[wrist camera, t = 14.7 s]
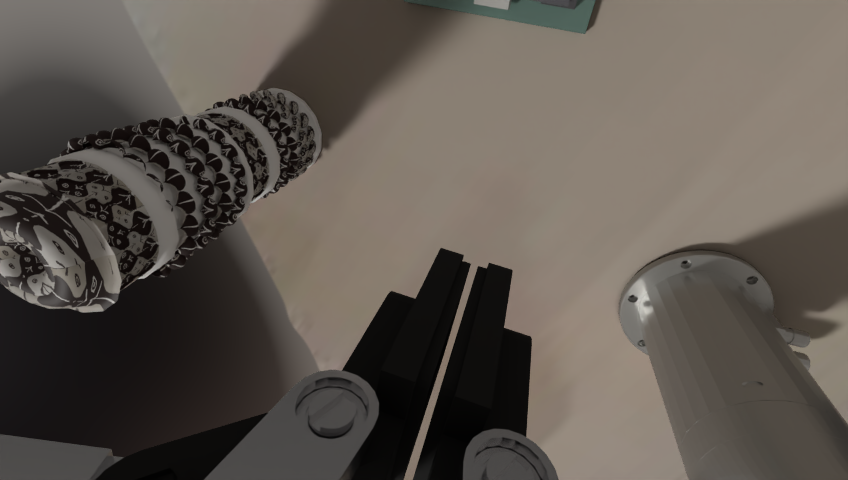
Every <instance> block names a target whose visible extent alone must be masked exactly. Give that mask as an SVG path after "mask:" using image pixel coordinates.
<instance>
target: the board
mask: <svg viewBox="0 0 848 480" xmlns="http://www.w3.org/2000/svg"><path fill="white" fill-rule="evenodd" d="M404 1H405V2H410V3H416V4H421V5H427V6H432V7H438V8H444V9H449V10H455V11H460V12H466V13H471V14H477V15H483V16H488V17H494V18H499V19H505V20H510V21H516V22H522V23H527V24H533V25H538V26H544V27H549V28H555V29H561V30H566V31H572V32H577V33H583V34H585V33H586V29H587V26H588V23H589V20H590V16H591V13H592V10H593V7H594V3H595V0H570V2H569V5H568V6H560V5H554V4H549V3H543V2H536V1H530V0H512V1H511V5H510V10H506V9H500V8H494V7H489V6H483V5H477V4H474V0H404Z"/></svg>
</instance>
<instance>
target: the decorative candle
mask: <svg viewBox="0 0 848 480" xmlns="http://www.w3.org/2000/svg"><path fill="white" fill-rule="evenodd" d="M250 97H251V98H248V96H247V95H245V94H242V95H240V97H239V98H240V99H239V102H238V101H237V100H236V99H232V98H231V99H228V100H227V101H226V102H225V103H224V102H217V103H215V104H214V105H213V109H207V110H206V111H205V112H201V113H198V114H197V115H196V116H191V115H187V114H185V115H181V116H177V117H173V118H161V119H160V120H159V122H158V121H157V120H148V121H146V122H142V123H139V124H138V125H137V127H135V126H126V127H124V128H123V129H120V128H115V129H113V130H112V131H111V132H109V131H99V132H97V134H96V135H95V134H89V135H86V136H85V137H84V138H83V139H81V138H73V139H71V140H69V142H68V149H65V150H64V151H62V152H61V155H60V157H58V158H55V159H52V160H50V162H49V163H48V164H47V165H45V166H43V167H41V168H35V169H32V170H29V171H26V172H22V173H19V174H15V173H11V172H10V173H6V174H1V175H0V282H1V283H2V284H3V285H4V286H5V287H6V288H7V289H9V290H10V291H11V292H13V293H14V294H16V295H18V296H20V297H21V298H23V299H24V300H26V301H28V302H30V303H33V304H37V305H40V306H43V307H46V308H50V309H60V308H70V309H73V310H77V311H80V312H97V311H104V310H105V309H107V308H108V307H109V306H111V305H112V304H113V303H115V302H116V301H117V300H118V295H119V291H121V290H123V289H124V288H125V287H127V286H128V285H130V284H131V283H132V282H134V281H135V280H136V279H141V278H145V277H147V276H148V275H150V274H152V275H153V276H156V277H166V276H168V275H169V274H170V272H171V269H179V268H181V267H182V266H184V265H185V263H186V259H189V258H190V257H192V255H193V251H194V250H197V251H198V250H202V249H203V248H205V247H206V245H207V241H214V240H215V239H216V238H218V236H219V233H221V232H222V231H223V229H224V228H225V227H226V226H230V225H233V224H234V223H235V222H236V220H237V218H238V217H240V216H241V215H242V214H243V213H245V212H246V211H247V210H248V208H249V205H250V203H254V202H255V201H257V200H258V199H260V198H266V197H267V196H268V195H269V193H276V192H277V191H278V190H279V188H280V187H284V186H286V185H287V183H288V182H289V181H293V180H295V179H296V178H297V177H298V176H299V175H301V174H303V173H304V172H305V171H306V170H307V169H308V168H309V167H310V166H312V165H313V164H314V163H315V162H316V160H317V158H318V156H319V154H320V152H321V147H322V132H321V129H320V126H319V123H318V120H317V117H316V115H315V114H314V113H313V111H312V110H311V109H310V107H309V106H308V105H307V103H306V102H305V101H304V100H302V99H301V98H299V97H298V96H296V95H295V94H294V93H292V92H291V91H287V90H283V89H278V88H270V89H264V90H261V91H258V92H254V91H253V92H251V93H250ZM85 148H86V149H87V150H83V149H85ZM104 148H105V149H104ZM82 150H83V151H82ZM197 236H199V237H198V238H195V237H197ZM194 238H195V239H194ZM176 250H177V251H176ZM175 257H177V258H176V259H175ZM174 259H175V260H174ZM172 260H173V261H172ZM171 261H172V262H171ZM168 262H171V263H170V264H168V265H166V263H168Z"/></svg>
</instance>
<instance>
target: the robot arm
mask: <svg viewBox="0 0 848 480" xmlns="http://www.w3.org/2000/svg"><path fill="white" fill-rule="evenodd" d="M463 256H464V255H462V254H459V253H456V252H452V251H449V250H446V249H443V248H441V249H440V250H439V252H438V255H437V257H436V259H435V261H434V263H433V265H432V267H431V269H430V271H429V273H428V275H427V277H426V279H425V281H424V283H423V285H422V287H421V289H420V291H419V293H418V295H417V297H416V299H414V298H411V297H408V296H405V295H402V294H399V293H396V292H393V291H391V292H390V293H389V294H388V295H387V297H386V298H385V300H384V302H383V303H382V305H381V307H380V308H379V310H378V312H377V313H376V315H375V317H374V318H373V320H372V322H371V323H370V325H369V327H368V328H367V330H366V332H365V333H364V335H363V337H362V338H361V340H360V342H359V343H358V345H357V347H356V348H355V350H354V352H353V353H352V355H351V356H350V358H349V360H348V361H347V363H346V365H345V366H344V368H343V370H342V371H339V370H327V371H320V372H317V373H314V374H312V375H309V376H307V377H305V378H304V379H302V380H301V381H300V382H298V383H297V384H296V385H295V386H294V387H293V388H292V389H291V390H290V391H289V392H288V393H287V394H286V395H285V396H284V397H283V398H282V399H281V400H280V401H279V402H278V403H277V404H276V405H275V407H273V408H272V410H271V411H270V412H268V413H265V414H261V415H258V416H255V417H251V418H248V419H245V420H241V421H238V422H235V423H232V424H228V425H225V426H222V427H218V428H215V429H211V430H208V431H205V432H201V433H198V434H194V435H191V436H188V437H184V438H181V439H178V440H174V441H171V442H168V443H164V444H161V445H158V446H154V447H151V448H148V449H144V450H141V451H139V452H137V453H134V454H132V455H129V456H127V457H124V458H123V457H115V456H113V455H112V451H111V449H105V448H96V447H90V446H82V445H75V444H68V443H60V442H52V441H45V440H37V439H30V438H22V437H15V436H8V435H0V480H403V479H404V476H405V473H406V470H407V467H408V464H409V461H410V458H411V455H412V452H413V449H414V445H415V442H416V439H417V436H418V433H419V430H420V427H421V424H422V421H423V418H424V415H425V411H426V408H427V405H428V402H429V399H430V396H431V393H432V390H433V387H434V384H435V381H436V377H437V374H438V371H439V368H440V365H441V362H442V359H443V356H444V352H445V349H446V346H447V342H448V339H449V336H450V332H451V329H452V325H453V322H454V319H455V315H456V312H457V309H458V305H459V302H460V299H461V295H462V292H463V289H464V285H465V282H466V278H467V275H468V272H469V268H470V265H471V264H470V263H467V262H464V261H462V260H463ZM511 278H512V270H511V269H508V268H504V267H501V266H498V265H495V264H491V263H489V264H488V267H487V269H486V268H483V267H480V266H478V268H477V272H476V275H475V278H474V281H473V284H472V288H471V291H470V294H469V297H468V301H467V304H466V307H465V310H464V314H463V317H462V320H461V323H460V327H459V330H458V333H457V336H456V339H455V343H454V346H453V349H452V352H451V356H450V359H449V362H448V366H447V369H446V372H445V375H444V379H443V382H442V385H441V389H440V392H439V395H438V399H437V402H436V405H435V408H434V412H433V415H432V418H431V422H430V425H429V428H428V432H427V435H426V438H425V441H424V445H423V448H422V451H421V455H420V458H419V461H418V465H417V468H416V471H415V475H414V478H413V480H559V479H558V476H557V473H556V470H555V468H554V466H553V464H552V463H551V461H550V460H549V458H548V456H547V455H546V454H545V453H544V452H543V451H542V450H541V449H540V448H539V447H538V446H537V445H536V444H535V443H534V442H532V441H531V440H529V439H528V438H526V430H527V414H528V397H529V380H530V363H531V346H532V339H531V337H530V336H527V335H524V334H521V333H518V332H515V331H512V330H509V329H506V328H504V323H505V317H506V310H507V304H508V297H509V291H510V284H511ZM773 311H774V297H773V294H772V291H771V288H770V286H769V284H768V283H767V282H766V280H765V279H764V277H763V276H762V275H761V274H760V273H759V272H758V271H757V270H756V269H755V268H754V267H753V266H751V265H750V264H749V263H747V262H746V261H744V260H742V259H740V258H737V257H735V256H733V255H730V254H726V253H721V252H717V251H704V250H698V251H686V252H681V253H676V254H672V255H669V256H666V257H664V258H661V259H658V260H656V261H654V262H653V263H651V264H649V265H647V266H646V267H644V268H643V269H642V270H640V271H639V272H638V273H637V274H635V275H634V277H633V278H632V279H631V280H630V281H629V282H628V283H627V285H626V287H625V289H624V290H623V292H622V294H621V298H620V301H619V313H618V314H619V318H620V323H621V326H622V328H623V331H624V333H625V335H626V336H627V338H628V339H629V341H630V342H631V343H632V344H633V345H634V346H635V347H636V348H638V349H639V350H641V351H642V352H644V353H645V354H647V355H649V358H650V361H651V364H652V367H653V370H654V373H655V377H656V380H657V383H658V386H659V389H660V392H661V395H662V398H663V402H664V405H665V408H666V411H667V414H668V417H669V420H670V423H671V427H672V430H673V433H674V436H675V439H676V442H677V445H678V448H679V451H680V455H681V458H682V461H683V464H684V467H685V470H686V473H687V476H688V478H689V480H848V424H847V423H846V421H845V420H844V419H843V417H842V416H841V415H840V413H839V412H838V411H837V409H836V408H835V407H834V405H833V404H832V403H831V401H830V400H829V399H828V397H827V396H826V395H825V393H824V392H823V391H822V389H821V388H820V386H819V385H818V384H817V382H816V381H815V380H814V378H813V377H812V376H811V374H810V373H809V372H808V370H809V368H810V360H809V358H808V356H807V355H805V354H804V353H800V352H796V351H793V350H792V349H791V347H790V346H789V345H788V344H790V345H794V346H798V347H806V346H808V345H809V343H810V336H809V334H808V333H807V332H804V331H800V330H796V329H792V328H785V327H783V326H782V325H781V324H780V323H779V321H778V320H777V319H776V317H775V316H774V315H773Z"/></svg>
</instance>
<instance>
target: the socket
mask: <svg viewBox="0 0 848 480" xmlns="http://www.w3.org/2000/svg"><path fill="white" fill-rule="evenodd" d="M511 1H512V0H474V4H477V5H483V6H489V7H494V8H500V9H506V10H510V5H511ZM530 1H536V2H543V3H549V4H554V5H560V6H568V5H569V2H570V0H530Z"/></svg>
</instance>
